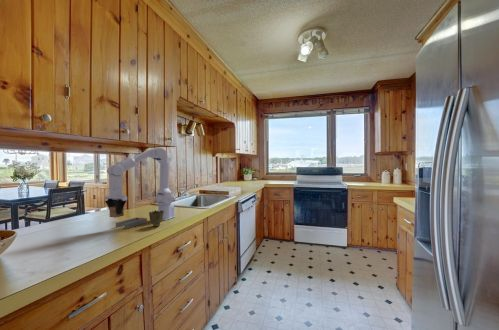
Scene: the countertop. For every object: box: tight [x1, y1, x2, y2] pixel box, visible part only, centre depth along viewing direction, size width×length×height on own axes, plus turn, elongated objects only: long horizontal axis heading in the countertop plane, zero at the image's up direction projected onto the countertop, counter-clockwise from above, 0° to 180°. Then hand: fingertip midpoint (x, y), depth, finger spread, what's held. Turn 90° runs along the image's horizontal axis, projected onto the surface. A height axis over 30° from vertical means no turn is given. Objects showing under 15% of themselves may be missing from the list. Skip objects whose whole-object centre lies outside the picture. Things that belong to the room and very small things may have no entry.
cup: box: [148, 209, 164, 228], centre depth 120 cm, size 8×7×8 cm
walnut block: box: [109, 206, 125, 218], centre depth 114 cm, size 4×4×5 cm
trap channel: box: [115, 216, 148, 230], centre depth 123 cm, size 14×8×2 cm, turn 157°
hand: (116, 213), depth 114 cm, fingers closed on walnut block, 4 cm apart
